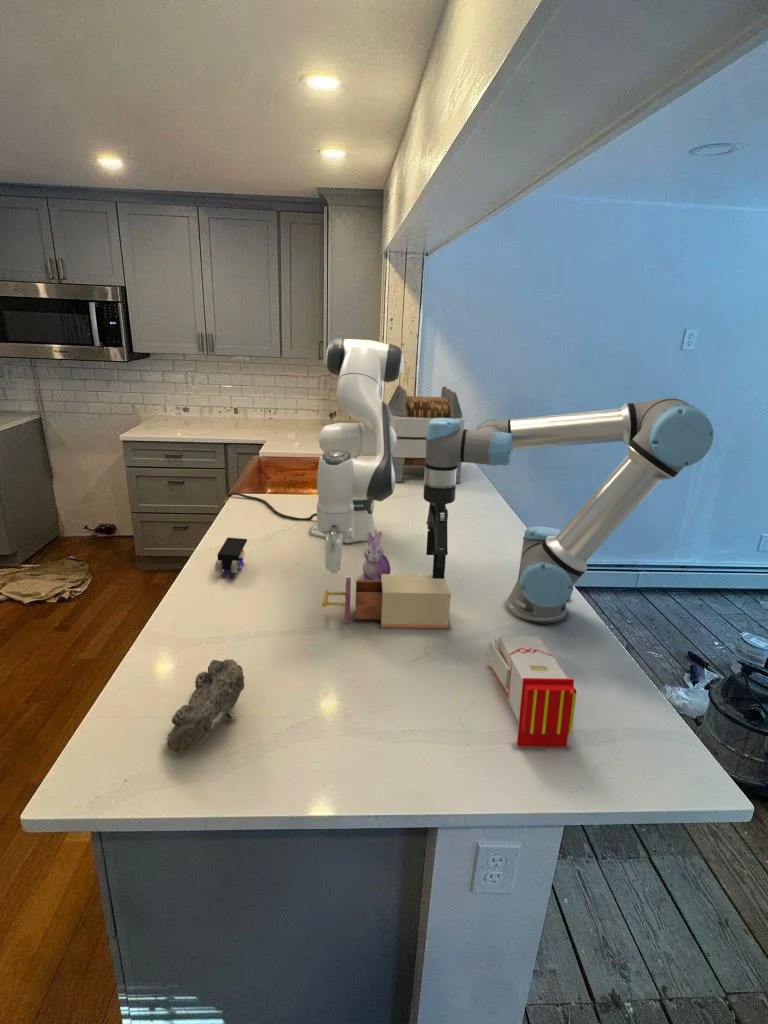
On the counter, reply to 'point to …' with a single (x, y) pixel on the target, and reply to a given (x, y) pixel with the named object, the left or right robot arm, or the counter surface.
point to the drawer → (360, 599)
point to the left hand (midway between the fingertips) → (334, 571)
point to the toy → (534, 690)
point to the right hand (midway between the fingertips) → (434, 565)
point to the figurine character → (230, 556)
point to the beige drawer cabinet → (414, 601)
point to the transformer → (418, 425)
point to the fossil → (206, 705)
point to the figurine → (374, 559)
